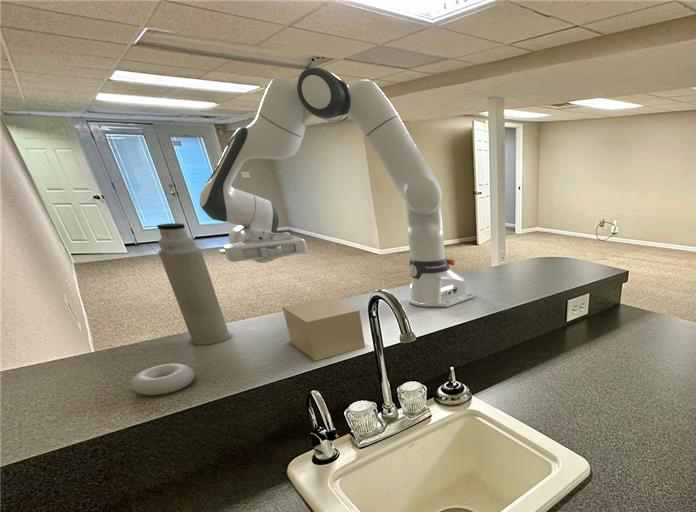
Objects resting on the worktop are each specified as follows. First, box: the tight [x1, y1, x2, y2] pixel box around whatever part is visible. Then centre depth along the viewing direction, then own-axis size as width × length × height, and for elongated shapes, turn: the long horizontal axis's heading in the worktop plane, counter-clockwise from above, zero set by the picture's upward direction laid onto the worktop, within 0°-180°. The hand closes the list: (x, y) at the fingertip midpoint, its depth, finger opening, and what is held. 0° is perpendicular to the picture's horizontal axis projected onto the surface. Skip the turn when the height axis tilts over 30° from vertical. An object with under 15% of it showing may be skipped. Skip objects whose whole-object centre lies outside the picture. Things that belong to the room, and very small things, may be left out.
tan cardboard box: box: [282, 297, 366, 362], centre depth 101 cm, size 15×13×10 cm
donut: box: [130, 363, 195, 396], centre depth 82 cm, size 10×3×10 cm
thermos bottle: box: [156, 222, 230, 346], centre depth 98 cm, size 8×8×28 cm
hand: (276, 253), depth 108 cm, fingers closed
